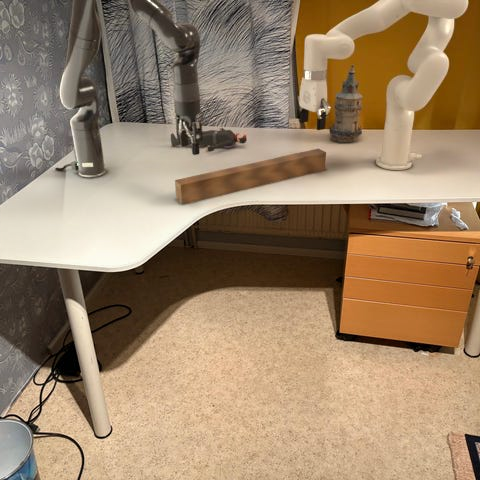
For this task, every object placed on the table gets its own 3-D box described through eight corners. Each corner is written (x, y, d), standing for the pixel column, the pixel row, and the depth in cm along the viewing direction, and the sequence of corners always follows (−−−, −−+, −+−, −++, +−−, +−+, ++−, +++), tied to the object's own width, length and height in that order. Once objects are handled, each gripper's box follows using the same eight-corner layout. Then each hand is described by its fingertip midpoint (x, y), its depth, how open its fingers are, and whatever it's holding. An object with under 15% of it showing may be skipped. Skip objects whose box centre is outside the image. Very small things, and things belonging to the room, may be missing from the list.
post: (317, 165, 196) (318, 148, 193) (325, 170, 192) (326, 152, 189) (176, 199, 173) (174, 179, 169) (182, 204, 169) (180, 184, 166)
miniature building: (330, 144, 216) (335, 67, 201) (326, 133, 228) (331, 60, 213) (363, 144, 215) (371, 67, 200) (358, 133, 227) (365, 60, 212)
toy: (183, 121, 228) (252, 121, 222) (184, 135, 231) (252, 135, 225) (163, 141, 206) (239, 141, 200) (165, 156, 209) (240, 157, 203)
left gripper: (165, 93, 161) (169, 145, 169) (184, 104, 150) (188, 159, 158) (188, 90, 164) (191, 141, 172) (209, 101, 153) (211, 154, 161)
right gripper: (290, 71, 181) (289, 121, 189) (321, 81, 167) (318, 134, 176) (308, 68, 184) (306, 117, 192) (340, 78, 171) (336, 130, 179)
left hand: (190, 150), depth 165 cm, fingers open, 8 cm apart
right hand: (312, 125), depth 184 cm, fingers open, 9 cm apart
